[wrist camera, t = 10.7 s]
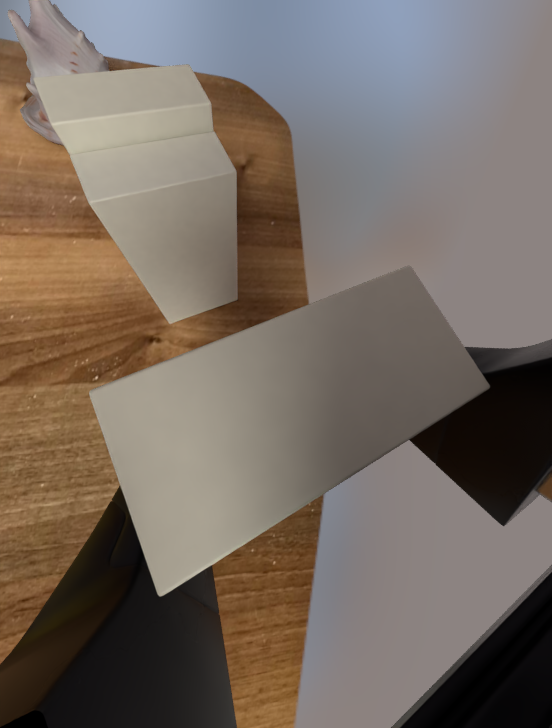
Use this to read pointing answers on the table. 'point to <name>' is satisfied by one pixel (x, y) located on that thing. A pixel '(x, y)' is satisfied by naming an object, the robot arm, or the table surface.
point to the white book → (277, 417)
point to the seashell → (52, 57)
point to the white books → (154, 178)
